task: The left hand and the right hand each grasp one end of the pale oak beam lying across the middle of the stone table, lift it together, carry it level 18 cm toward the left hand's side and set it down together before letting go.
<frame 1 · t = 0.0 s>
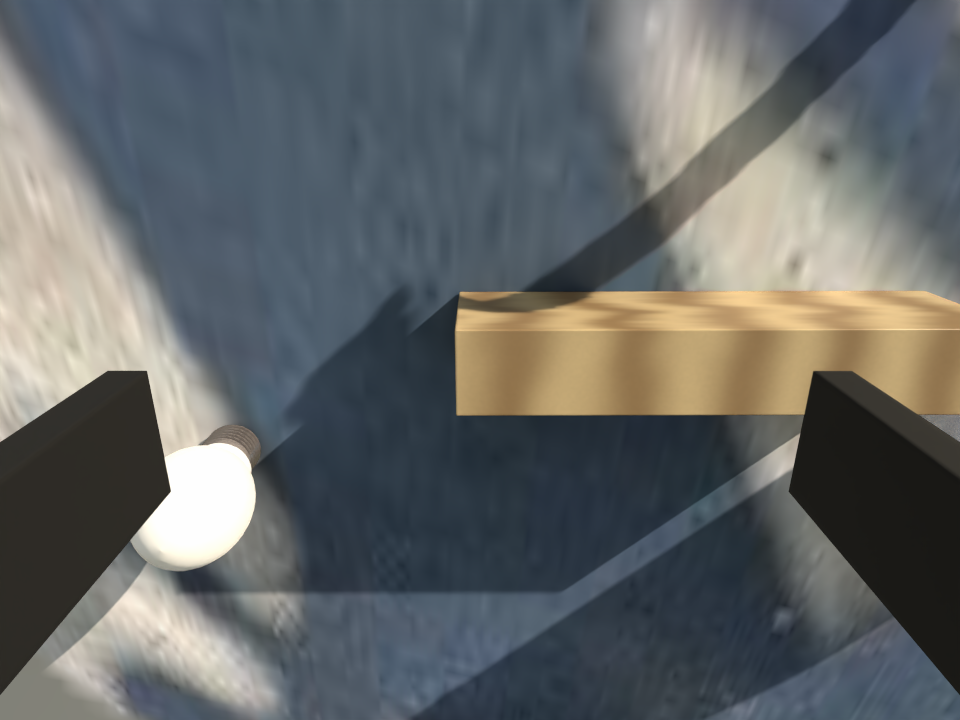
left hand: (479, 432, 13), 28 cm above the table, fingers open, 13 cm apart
oak beam: (687, 328, 41), on the table
light bulb: (236, 450, 44), on the table
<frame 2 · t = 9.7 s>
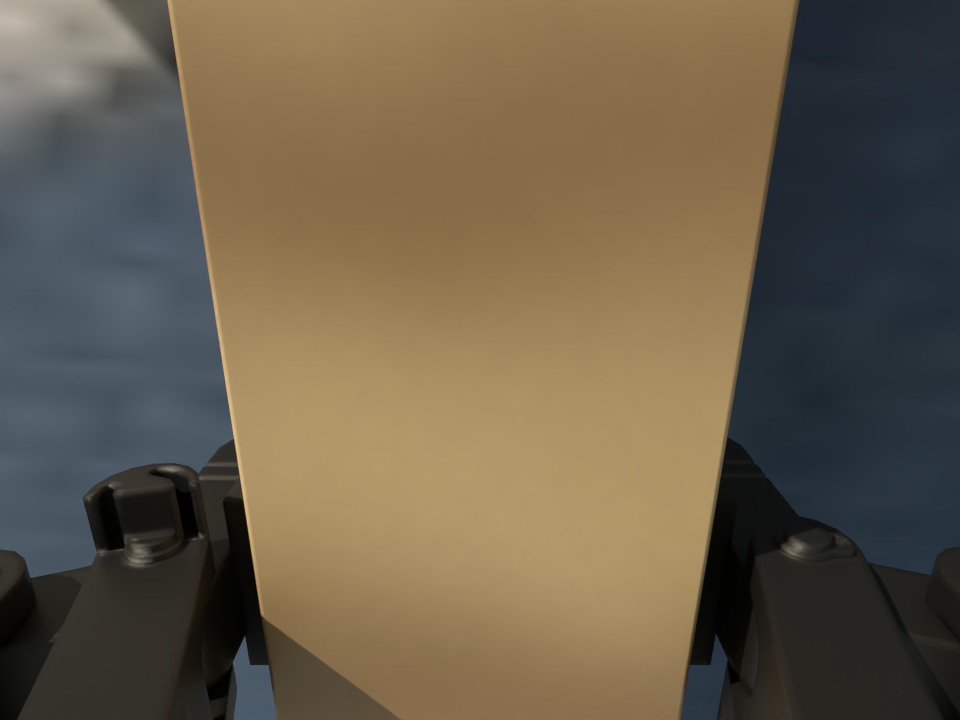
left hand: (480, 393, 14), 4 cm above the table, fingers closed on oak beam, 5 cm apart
when the right hand's fingers open (0 cm above the table, at t = 15.1 s): oak beam stays where it is, on the table.
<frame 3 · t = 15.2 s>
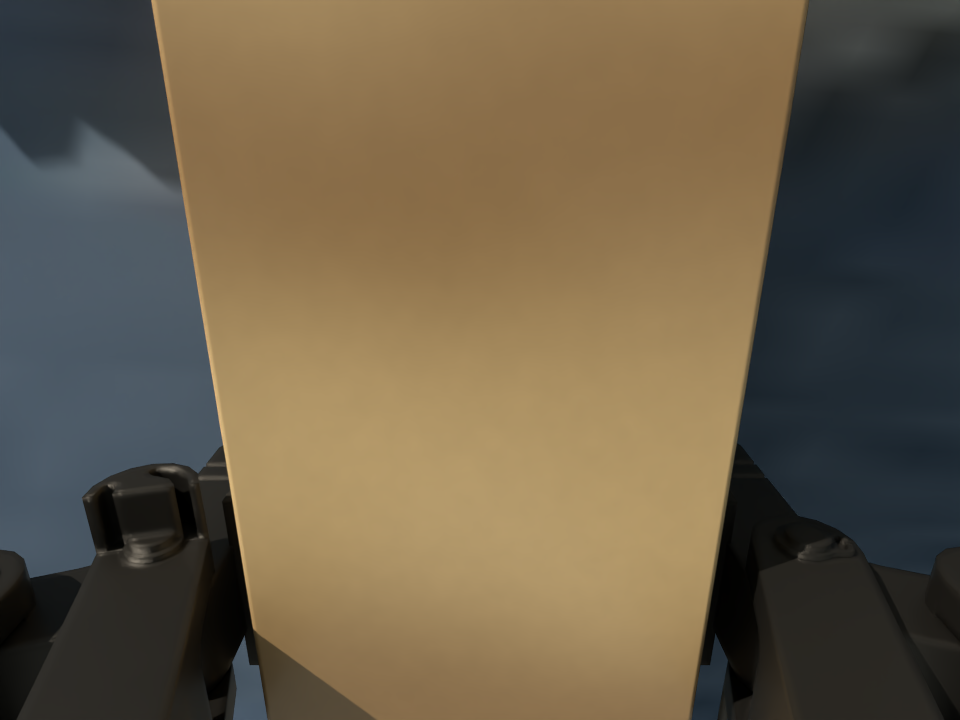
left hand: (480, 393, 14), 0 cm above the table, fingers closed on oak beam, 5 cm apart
when the left hand's fingers open (0 cm above the table, at t = 15.2 s): oak beam stays where it is, on the table.
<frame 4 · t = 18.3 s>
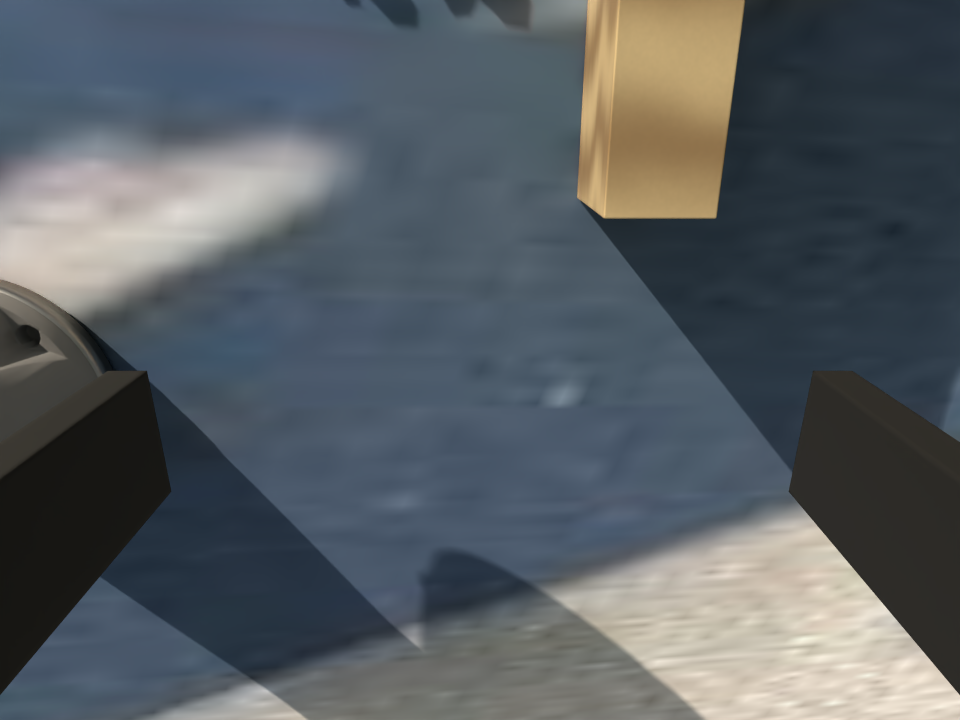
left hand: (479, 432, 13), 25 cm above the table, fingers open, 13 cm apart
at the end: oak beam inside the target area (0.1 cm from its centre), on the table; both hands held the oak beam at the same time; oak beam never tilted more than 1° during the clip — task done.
